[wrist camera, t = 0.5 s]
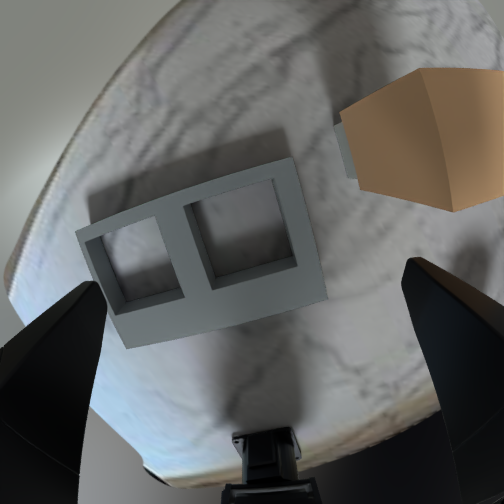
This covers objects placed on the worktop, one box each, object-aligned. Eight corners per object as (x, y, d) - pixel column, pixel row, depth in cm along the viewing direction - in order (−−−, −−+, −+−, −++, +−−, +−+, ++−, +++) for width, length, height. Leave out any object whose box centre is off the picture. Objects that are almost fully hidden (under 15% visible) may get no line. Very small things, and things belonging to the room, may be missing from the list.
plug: (400, 172, 21) (528, 187, 8) (343, 186, 21) (453, 212, 8) (384, 110, 19) (503, 71, 7) (325, 120, 20) (419, 68, 7)
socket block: (320, 285, 23) (328, 299, 21) (135, 333, 24) (126, 349, 22) (287, 158, 20) (292, 156, 18) (90, 225, 21) (74, 231, 19)
